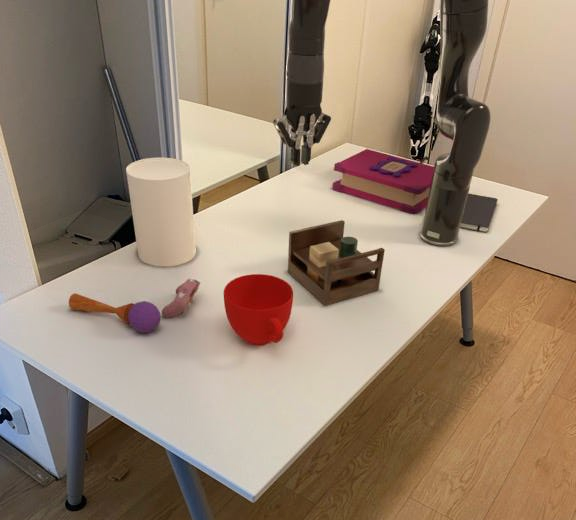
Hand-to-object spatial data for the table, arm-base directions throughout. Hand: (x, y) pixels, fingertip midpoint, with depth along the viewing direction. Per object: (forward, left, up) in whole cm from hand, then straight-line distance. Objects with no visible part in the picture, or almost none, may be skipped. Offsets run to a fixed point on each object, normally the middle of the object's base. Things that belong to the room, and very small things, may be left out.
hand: (300, 164), depth 128 cm
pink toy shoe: (+35, -7, -21) cm, 42 cm away
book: (-49, +4, -21) cm, 54 cm away
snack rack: (+8, +14, -21) cm, 26 cm away
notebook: (-47, +29, -21) cm, 59 cm away
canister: (+18, -25, -21) cm, 37 cm away
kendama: (+46, -15, -21) cm, 53 cm away
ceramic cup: (+36, +13, -21) cm, 44 cm away
